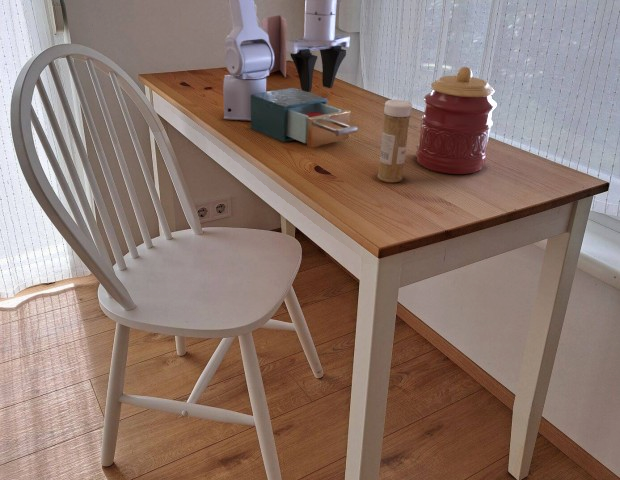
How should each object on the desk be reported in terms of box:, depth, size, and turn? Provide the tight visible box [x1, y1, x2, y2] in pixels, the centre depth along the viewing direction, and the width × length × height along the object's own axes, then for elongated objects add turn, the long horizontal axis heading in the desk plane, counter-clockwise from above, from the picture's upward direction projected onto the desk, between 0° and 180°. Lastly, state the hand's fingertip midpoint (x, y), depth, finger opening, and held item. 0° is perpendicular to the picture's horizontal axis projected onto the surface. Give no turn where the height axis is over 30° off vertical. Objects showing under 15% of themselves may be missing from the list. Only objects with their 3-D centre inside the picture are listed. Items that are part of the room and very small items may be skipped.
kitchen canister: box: [416, 66, 497, 175], centre depth 109 cm, size 13×13×18 cm
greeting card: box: [261, 14, 288, 78], centre depth 170 cm, size 11×7×15 cm, turn 157°
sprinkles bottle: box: [377, 99, 413, 184], centre depth 102 cm, size 5×5×13 cm
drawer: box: [286, 103, 358, 149], centre depth 119 cm, size 15×10×6 cm
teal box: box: [250, 87, 328, 143], centre depth 125 cm, size 11×12×7 cm
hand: (316, 89), depth 116 cm, fingers open, 5 cm apart
